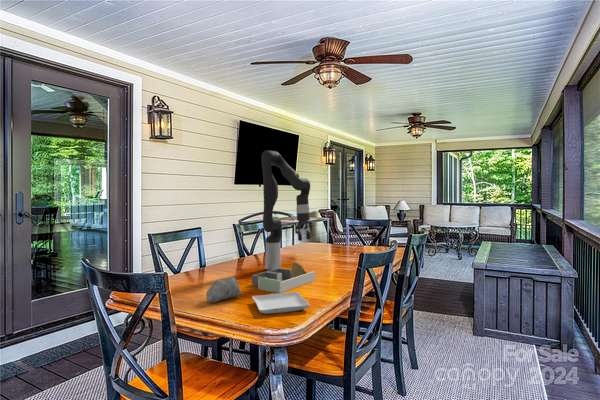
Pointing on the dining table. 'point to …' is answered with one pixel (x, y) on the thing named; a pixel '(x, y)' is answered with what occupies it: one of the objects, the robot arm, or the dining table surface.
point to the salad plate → (280, 302)
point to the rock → (297, 270)
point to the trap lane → (280, 280)
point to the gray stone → (223, 289)
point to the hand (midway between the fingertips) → (304, 239)
